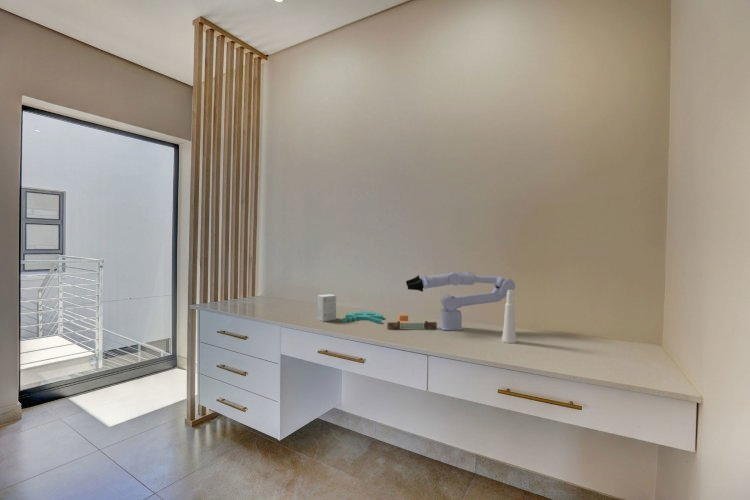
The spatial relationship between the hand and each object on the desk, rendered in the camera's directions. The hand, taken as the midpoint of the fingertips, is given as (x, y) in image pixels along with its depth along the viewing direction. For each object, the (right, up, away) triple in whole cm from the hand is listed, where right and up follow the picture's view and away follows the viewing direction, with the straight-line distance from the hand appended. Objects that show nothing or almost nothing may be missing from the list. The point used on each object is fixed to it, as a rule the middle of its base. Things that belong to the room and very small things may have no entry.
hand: (406, 285), depth 171 cm
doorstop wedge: (-1, -21, +7) cm, 22 cm away
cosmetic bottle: (+42, -22, -20) cm, 52 cm away
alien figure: (-21, -21, +19) cm, 35 cm away
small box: (-41, -20, +15) cm, 48 cm away
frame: (+3, -21, -1) cm, 21 cm away
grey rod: (+3, -21, -2) cm, 21 cm away
